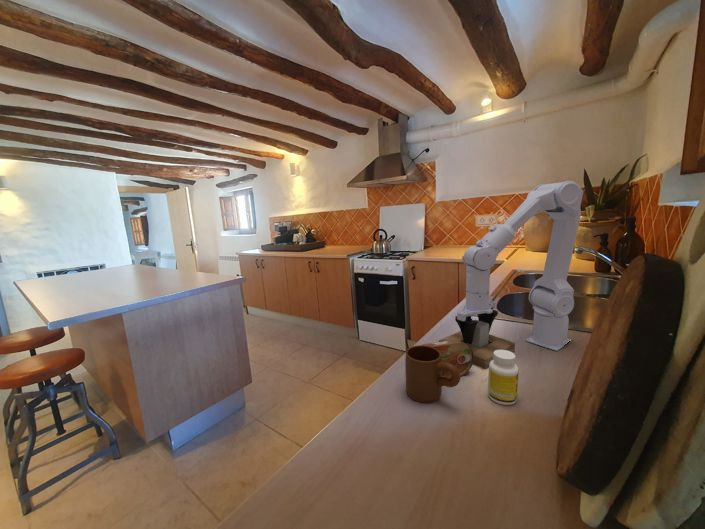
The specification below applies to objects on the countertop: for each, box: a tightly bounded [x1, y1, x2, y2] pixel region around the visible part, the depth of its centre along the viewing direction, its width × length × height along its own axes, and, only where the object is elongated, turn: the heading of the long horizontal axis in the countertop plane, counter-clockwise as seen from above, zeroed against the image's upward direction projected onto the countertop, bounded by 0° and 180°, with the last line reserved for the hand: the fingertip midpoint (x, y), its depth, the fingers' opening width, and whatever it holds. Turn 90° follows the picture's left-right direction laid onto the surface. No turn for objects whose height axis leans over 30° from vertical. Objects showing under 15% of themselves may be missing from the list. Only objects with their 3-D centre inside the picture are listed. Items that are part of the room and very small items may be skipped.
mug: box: [404, 344, 461, 404], centre depth 61 cm, size 12×8×9 cm, turn 43°
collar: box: [438, 330, 516, 370], centre depth 80 cm, size 14×14×2 cm
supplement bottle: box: [487, 350, 520, 406], centre depth 59 cm, size 5×5×10 cm
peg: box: [466, 319, 490, 349], centre depth 79 cm, size 4×4×8 cm
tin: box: [422, 340, 474, 379], centre depth 68 cm, size 15×3×8 cm, turn 99°
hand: (476, 338), depth 79 cm, fingers open, 7 cm apart
